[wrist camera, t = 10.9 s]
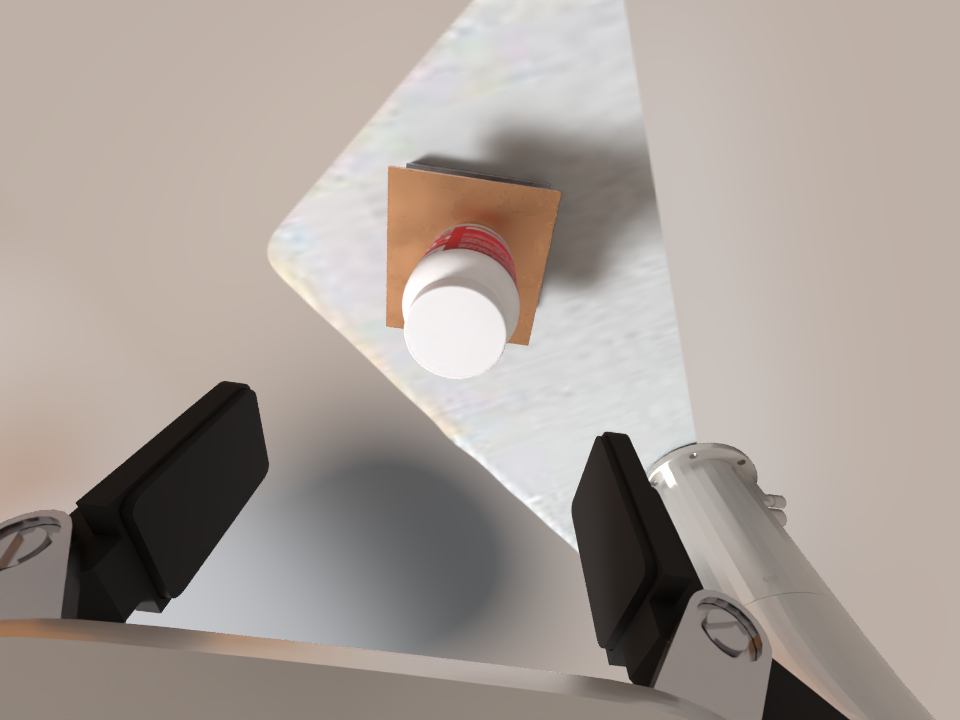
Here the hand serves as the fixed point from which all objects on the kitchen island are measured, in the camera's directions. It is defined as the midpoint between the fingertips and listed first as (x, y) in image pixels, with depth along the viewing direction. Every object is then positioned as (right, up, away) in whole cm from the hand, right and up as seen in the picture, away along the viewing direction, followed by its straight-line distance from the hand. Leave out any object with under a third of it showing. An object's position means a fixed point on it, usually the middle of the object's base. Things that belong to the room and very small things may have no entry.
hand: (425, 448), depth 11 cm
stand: (+1, +13, +22) cm, 26 cm away
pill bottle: (+1, +9, +16) cm, 19 cm away
